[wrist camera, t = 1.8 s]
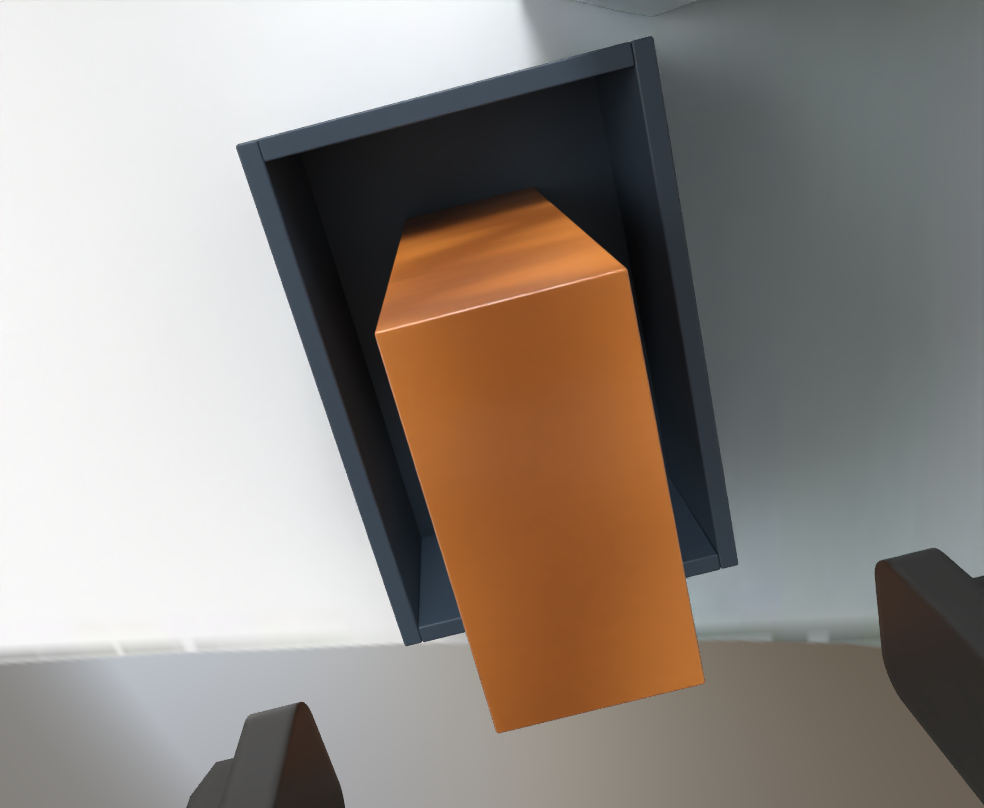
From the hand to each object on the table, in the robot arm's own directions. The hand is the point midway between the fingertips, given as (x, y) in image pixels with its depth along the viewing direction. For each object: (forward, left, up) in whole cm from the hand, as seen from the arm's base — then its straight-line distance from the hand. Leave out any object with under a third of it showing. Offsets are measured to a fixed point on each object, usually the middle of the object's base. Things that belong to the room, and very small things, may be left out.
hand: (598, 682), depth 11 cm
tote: (0, 0, -20) cm, 20 cm away
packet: (0, 0, -20) cm, 20 cm away
